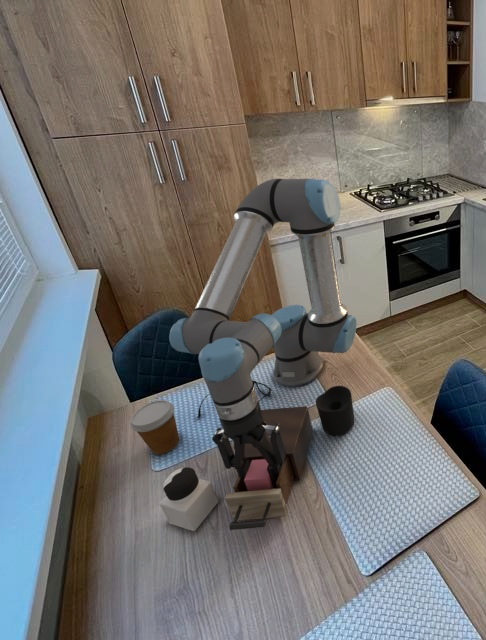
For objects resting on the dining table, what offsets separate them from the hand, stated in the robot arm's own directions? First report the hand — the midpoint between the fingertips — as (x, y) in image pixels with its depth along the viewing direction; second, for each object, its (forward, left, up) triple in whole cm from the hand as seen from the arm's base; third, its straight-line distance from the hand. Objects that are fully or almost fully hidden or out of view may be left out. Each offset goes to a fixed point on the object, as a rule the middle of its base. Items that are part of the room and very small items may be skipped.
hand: (263, 483), depth 93 cm
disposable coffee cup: (-18, -33, -5) cm, 38 cm away
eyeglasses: (-30, -19, -5) cm, 36 cm away
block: (0, 0, 0) cm, 0 cm away
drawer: (+1, 0, -4) cm, 4 cm away
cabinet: (-11, 0, -5) cm, 12 cm away
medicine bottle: (+2, -16, -5) cm, 17 cm away
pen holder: (-20, +13, -5) cm, 25 cm away
